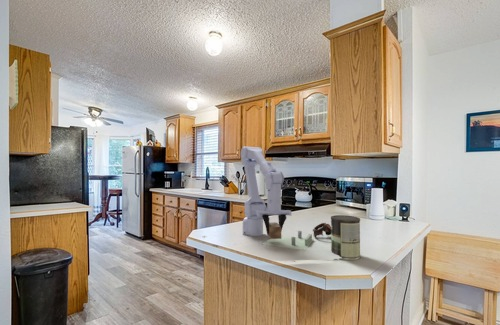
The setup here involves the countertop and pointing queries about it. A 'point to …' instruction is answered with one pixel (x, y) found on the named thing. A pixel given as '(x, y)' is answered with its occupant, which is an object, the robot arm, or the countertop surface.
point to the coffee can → (345, 237)
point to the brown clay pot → (322, 229)
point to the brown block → (274, 230)
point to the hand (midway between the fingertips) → (273, 232)
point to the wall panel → (291, 241)
